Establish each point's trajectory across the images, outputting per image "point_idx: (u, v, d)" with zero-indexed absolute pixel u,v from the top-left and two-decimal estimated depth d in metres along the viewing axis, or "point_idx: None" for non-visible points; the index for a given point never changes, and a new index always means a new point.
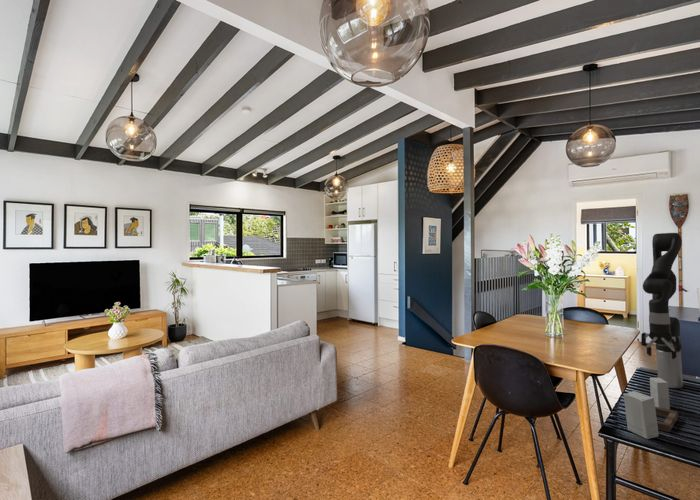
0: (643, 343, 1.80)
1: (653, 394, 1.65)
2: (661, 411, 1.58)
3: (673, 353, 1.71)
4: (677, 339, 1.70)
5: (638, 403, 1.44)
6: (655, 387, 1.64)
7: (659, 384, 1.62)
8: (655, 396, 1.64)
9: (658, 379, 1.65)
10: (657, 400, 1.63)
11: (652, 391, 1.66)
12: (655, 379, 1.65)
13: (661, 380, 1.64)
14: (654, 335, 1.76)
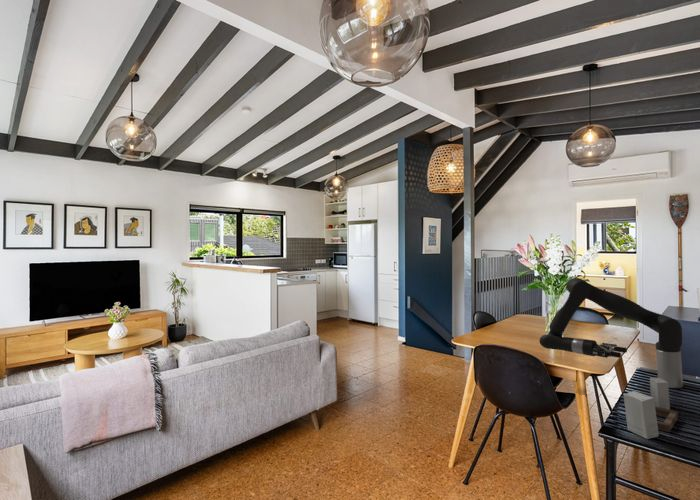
0: None
1: (653, 394, 1.65)
2: (661, 411, 1.58)
3: (613, 356, 1.73)
4: None
5: (638, 403, 1.44)
6: (655, 387, 1.64)
7: (659, 384, 1.62)
8: (655, 396, 1.64)
9: (658, 379, 1.65)
10: (657, 400, 1.63)
11: (652, 391, 1.66)
12: (655, 379, 1.65)
13: (661, 380, 1.64)
14: None
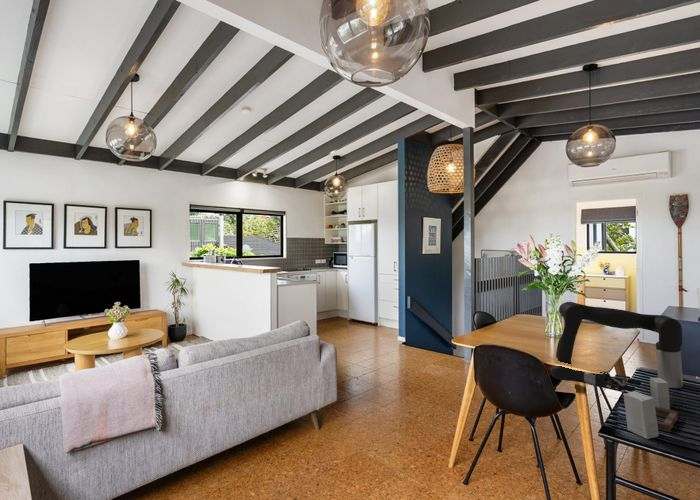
0: None
1: (653, 394, 1.65)
2: (661, 411, 1.58)
3: (627, 390, 1.70)
4: None
5: (638, 403, 1.44)
6: (655, 387, 1.64)
7: (659, 384, 1.62)
8: (655, 396, 1.64)
9: (658, 379, 1.65)
10: (657, 400, 1.63)
11: (652, 391, 1.66)
12: (655, 379, 1.65)
13: (661, 380, 1.64)
14: None
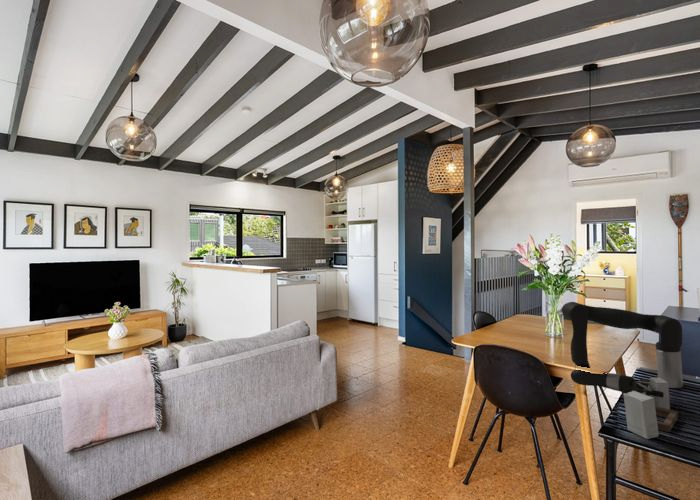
0: None
1: None
2: (661, 411, 1.58)
3: (655, 395, 1.62)
4: None
5: (638, 403, 1.44)
6: (655, 387, 1.64)
7: (659, 384, 1.62)
8: (655, 396, 1.64)
9: (658, 379, 1.65)
10: (657, 400, 1.63)
11: None
12: (655, 379, 1.65)
13: (661, 380, 1.64)
14: None
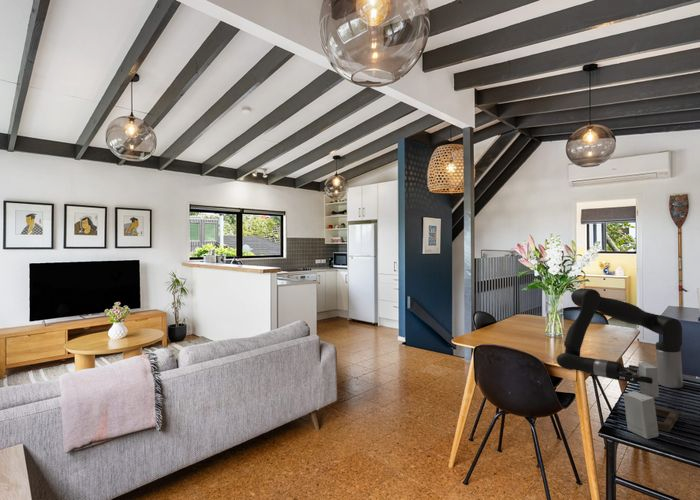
0: None
1: None
2: (661, 411, 1.58)
3: None
4: None
5: (638, 403, 1.44)
6: (644, 373, 1.55)
7: (648, 370, 1.53)
8: (644, 383, 1.55)
9: (647, 364, 1.56)
10: (646, 386, 1.54)
11: None
12: (644, 364, 1.56)
13: (650, 365, 1.55)
14: None
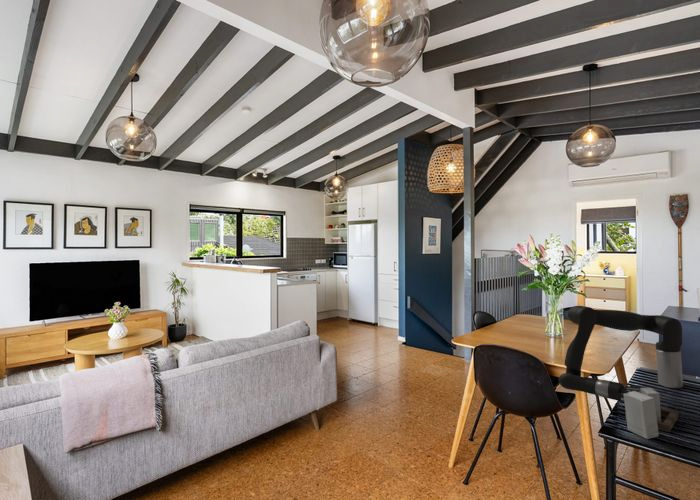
0: None
1: None
2: (661, 411, 1.58)
3: None
4: None
5: (638, 403, 1.44)
6: None
7: (650, 395, 1.53)
8: None
9: (649, 389, 1.56)
10: None
11: None
12: (646, 389, 1.56)
13: (652, 391, 1.55)
14: None
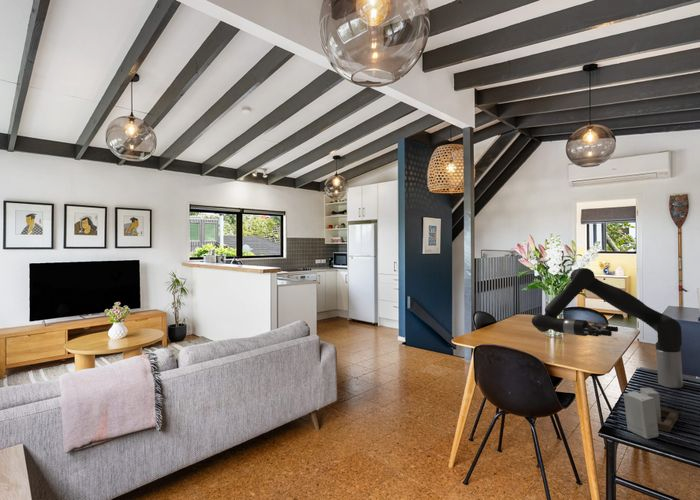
0: None
1: None
2: (661, 411, 1.58)
3: (604, 335, 1.72)
4: (586, 334, 1.76)
5: (638, 403, 1.44)
6: None
7: (650, 395, 1.53)
8: None
9: (649, 389, 1.56)
10: None
11: None
12: (646, 389, 1.57)
13: (652, 391, 1.55)
14: None
